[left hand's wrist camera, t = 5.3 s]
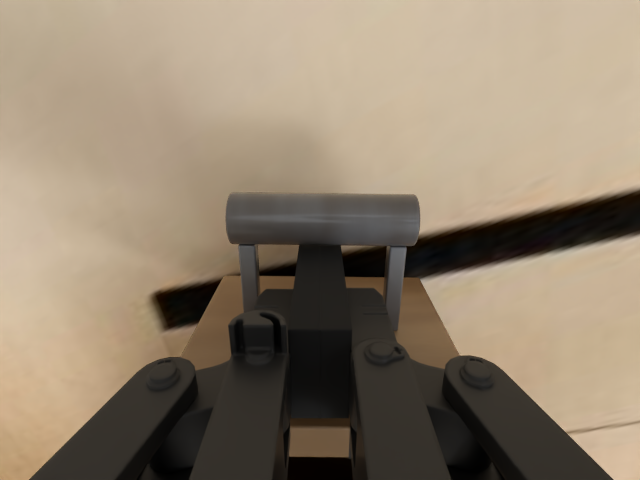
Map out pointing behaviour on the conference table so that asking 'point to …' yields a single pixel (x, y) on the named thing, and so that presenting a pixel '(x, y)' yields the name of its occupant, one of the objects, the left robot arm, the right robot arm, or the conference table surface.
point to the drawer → (398, 293)
